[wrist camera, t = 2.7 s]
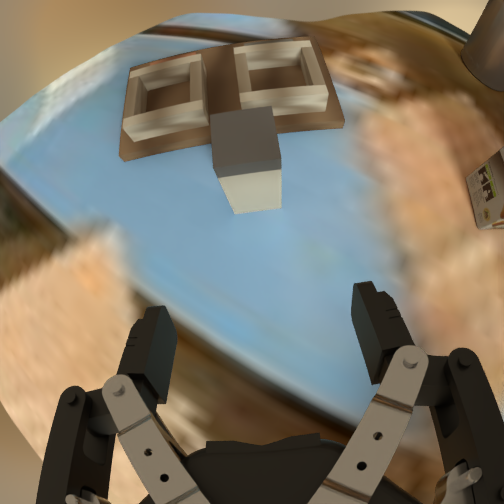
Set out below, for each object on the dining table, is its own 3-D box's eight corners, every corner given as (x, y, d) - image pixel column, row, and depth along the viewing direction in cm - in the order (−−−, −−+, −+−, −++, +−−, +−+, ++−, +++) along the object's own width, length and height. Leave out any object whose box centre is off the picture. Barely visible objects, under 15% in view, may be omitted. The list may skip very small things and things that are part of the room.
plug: (275, 166, 30) (271, 105, 20) (281, 208, 29) (281, 158, 19) (230, 172, 30) (209, 114, 20) (234, 214, 29) (213, 168, 20)
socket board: (314, 44, 33) (316, 19, 28) (342, 128, 30) (349, 103, 26) (134, 74, 34) (121, 53, 30) (124, 161, 32) (105, 143, 27)
